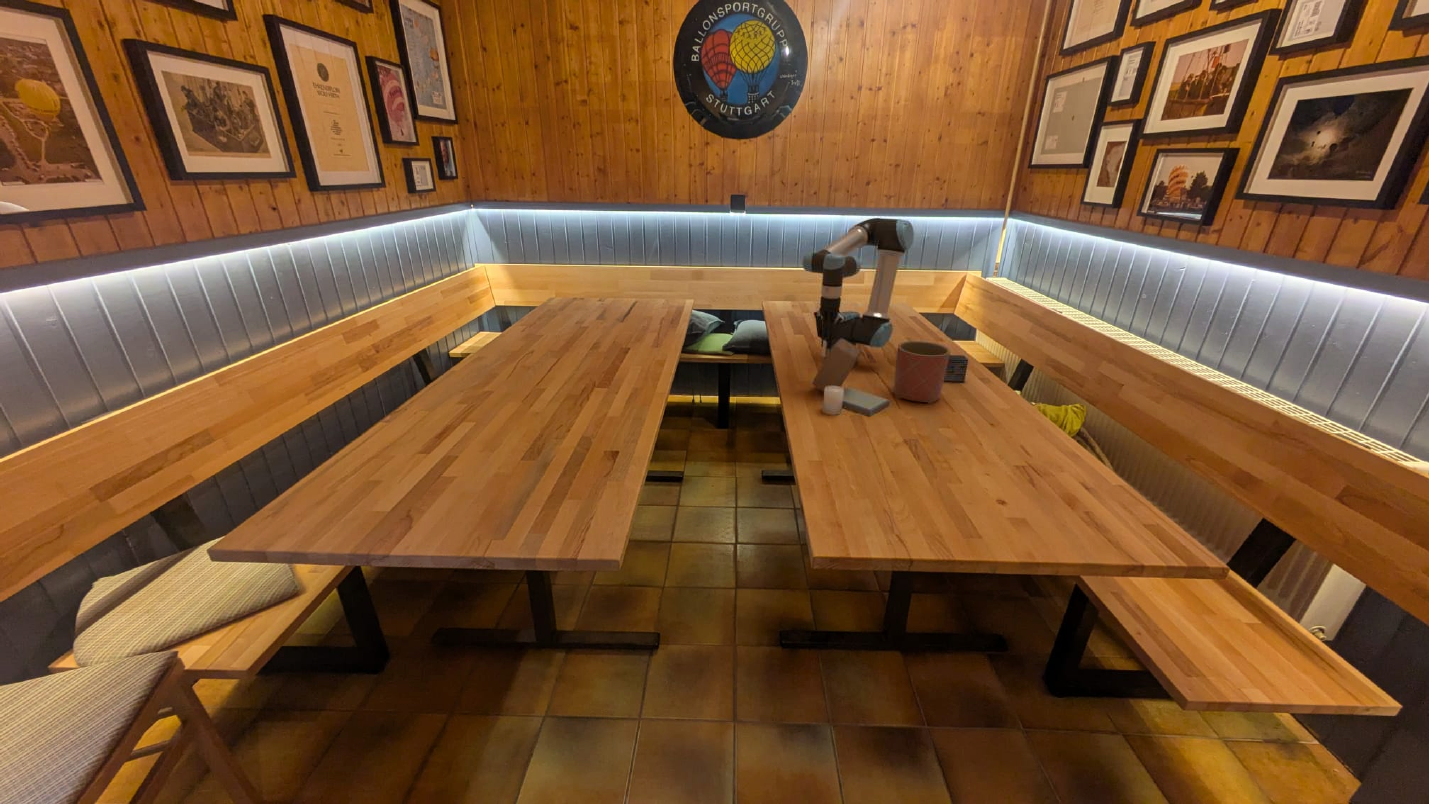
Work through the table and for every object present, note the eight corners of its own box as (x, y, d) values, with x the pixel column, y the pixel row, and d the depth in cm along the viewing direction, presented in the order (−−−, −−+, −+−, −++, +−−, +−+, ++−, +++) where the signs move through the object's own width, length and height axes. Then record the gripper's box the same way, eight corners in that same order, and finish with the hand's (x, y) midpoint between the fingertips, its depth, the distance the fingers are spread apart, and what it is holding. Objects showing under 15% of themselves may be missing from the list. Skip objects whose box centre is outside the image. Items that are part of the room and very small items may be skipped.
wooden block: (839, 388, 227) (863, 349, 216) (831, 398, 219) (856, 358, 208) (818, 375, 229) (841, 336, 218) (810, 384, 222) (833, 344, 210)
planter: (943, 391, 227) (951, 344, 219) (939, 408, 211) (948, 358, 203) (895, 383, 234) (901, 338, 226) (887, 400, 218) (894, 351, 210)
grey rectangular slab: (826, 401, 216) (827, 395, 215) (846, 392, 225) (847, 386, 224) (870, 416, 204) (870, 410, 203) (889, 405, 213) (889, 399, 212)
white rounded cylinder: (818, 411, 208) (820, 389, 204) (829, 405, 212) (831, 384, 209) (834, 416, 203) (837, 394, 200) (845, 411, 208) (847, 389, 204)
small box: (960, 377, 241) (964, 354, 237) (964, 383, 235) (969, 359, 231) (935, 376, 242) (939, 353, 238) (939, 382, 236) (943, 358, 232)
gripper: (810, 295, 211) (806, 354, 220) (839, 300, 203) (833, 361, 212) (822, 292, 216) (817, 350, 225) (851, 297, 207) (844, 357, 217)
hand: (825, 355), depth 219 cm, fingers closed
